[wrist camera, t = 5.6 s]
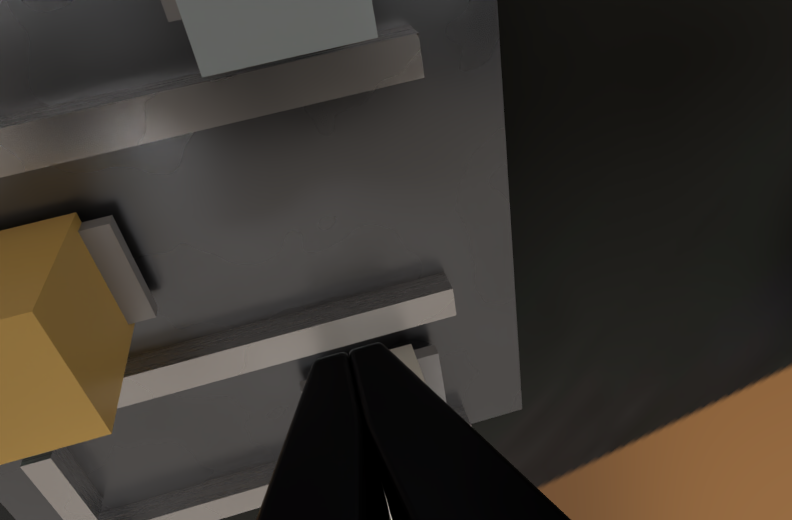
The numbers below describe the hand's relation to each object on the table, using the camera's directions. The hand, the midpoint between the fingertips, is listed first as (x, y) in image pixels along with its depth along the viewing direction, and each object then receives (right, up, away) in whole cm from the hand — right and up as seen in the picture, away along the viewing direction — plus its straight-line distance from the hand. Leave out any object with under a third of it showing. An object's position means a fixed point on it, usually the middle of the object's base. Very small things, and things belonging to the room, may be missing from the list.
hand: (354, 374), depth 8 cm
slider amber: (-5, +1, +3) cm, 6 cm away
